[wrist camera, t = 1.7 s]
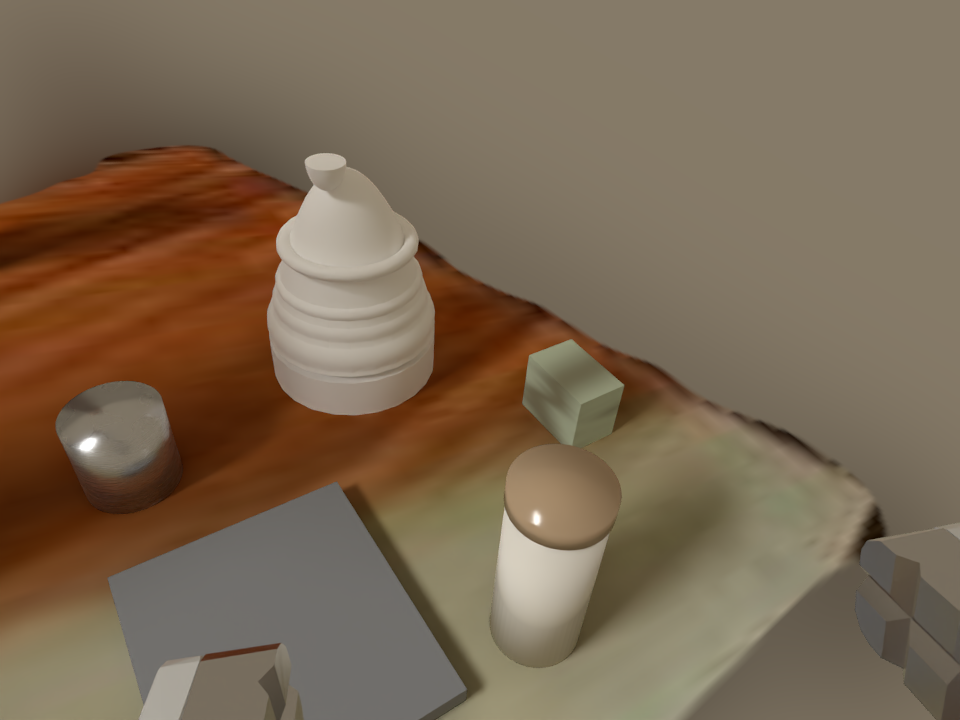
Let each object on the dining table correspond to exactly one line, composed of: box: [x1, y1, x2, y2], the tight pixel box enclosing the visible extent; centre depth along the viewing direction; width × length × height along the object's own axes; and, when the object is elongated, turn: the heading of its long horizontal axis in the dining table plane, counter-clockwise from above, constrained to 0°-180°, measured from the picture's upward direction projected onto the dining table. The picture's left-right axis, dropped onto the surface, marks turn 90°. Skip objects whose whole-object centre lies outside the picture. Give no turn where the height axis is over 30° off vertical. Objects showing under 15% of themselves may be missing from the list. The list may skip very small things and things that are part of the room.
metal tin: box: [56, 381, 183, 514], centre depth 45 cm, size 6×6×6 cm
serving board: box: [108, 482, 467, 720], centre depth 38 cm, size 16×14×1 cm
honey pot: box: [267, 153, 435, 415], centre depth 52 cm, size 13×13×18 cm
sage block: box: [522, 339, 624, 448], centre depth 52 cm, size 6×4×5 cm, turn 33°
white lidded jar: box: [490, 444, 622, 668], centre depth 36 cm, size 5×5×12 cm
